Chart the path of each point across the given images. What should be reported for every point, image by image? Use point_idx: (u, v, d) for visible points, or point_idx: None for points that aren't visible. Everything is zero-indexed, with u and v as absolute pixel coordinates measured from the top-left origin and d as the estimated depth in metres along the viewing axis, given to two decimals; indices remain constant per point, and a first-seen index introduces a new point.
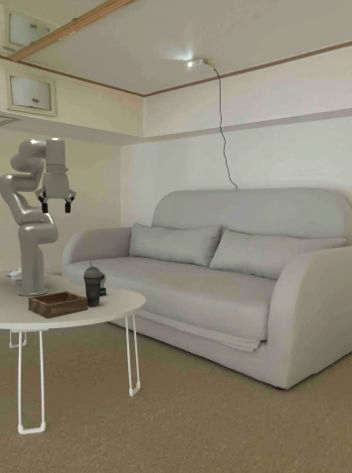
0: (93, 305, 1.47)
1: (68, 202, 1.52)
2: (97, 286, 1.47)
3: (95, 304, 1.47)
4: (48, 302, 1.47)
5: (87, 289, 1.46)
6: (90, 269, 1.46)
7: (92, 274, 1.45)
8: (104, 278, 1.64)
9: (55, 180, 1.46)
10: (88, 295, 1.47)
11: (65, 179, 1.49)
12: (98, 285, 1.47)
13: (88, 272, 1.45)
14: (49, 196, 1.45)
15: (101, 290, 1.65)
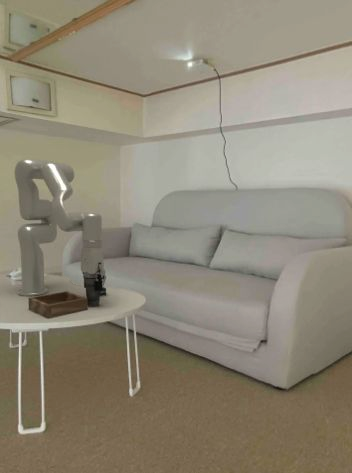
0: (93, 305, 1.47)
1: None
2: None
3: (95, 304, 1.47)
4: (48, 302, 1.47)
5: (87, 289, 1.46)
6: None
7: (92, 274, 1.45)
8: (104, 278, 1.64)
9: None
10: (88, 295, 1.47)
11: None
12: None
13: None
14: None
15: (101, 290, 1.65)
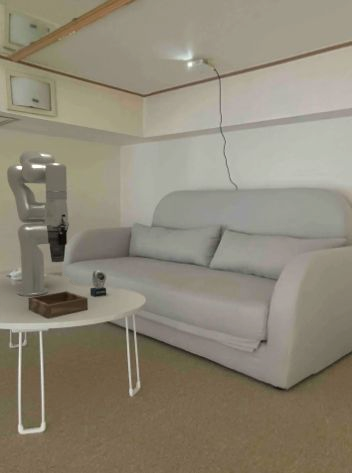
0: (57, 260, 1.39)
1: None
2: None
3: (59, 259, 1.40)
4: (48, 302, 1.47)
5: (51, 243, 1.39)
6: None
7: (56, 227, 1.37)
8: (104, 278, 1.64)
9: None
10: (52, 250, 1.39)
11: None
12: None
13: None
14: None
15: (101, 290, 1.65)
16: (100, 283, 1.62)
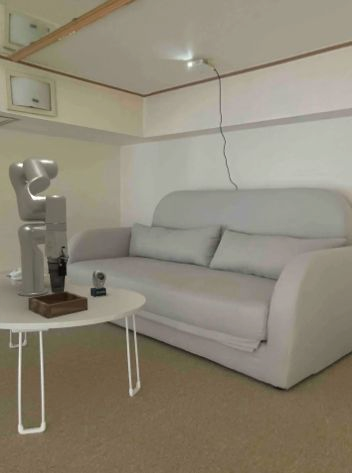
0: (57, 291, 1.40)
1: None
2: None
3: (59, 290, 1.40)
4: (48, 302, 1.47)
5: (51, 275, 1.39)
6: None
7: (56, 259, 1.38)
8: (104, 278, 1.64)
9: None
10: (52, 281, 1.40)
11: None
12: None
13: (51, 257, 1.38)
14: None
15: (101, 290, 1.65)
16: (100, 283, 1.62)
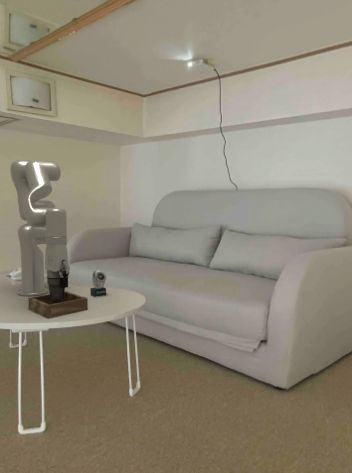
0: None
1: None
2: None
3: None
4: (48, 302, 1.47)
5: (50, 290, 1.40)
6: None
7: (55, 274, 1.39)
8: (104, 278, 1.64)
9: None
10: (51, 296, 1.41)
11: None
12: None
13: (51, 272, 1.39)
14: None
15: (101, 290, 1.65)
16: (100, 283, 1.62)
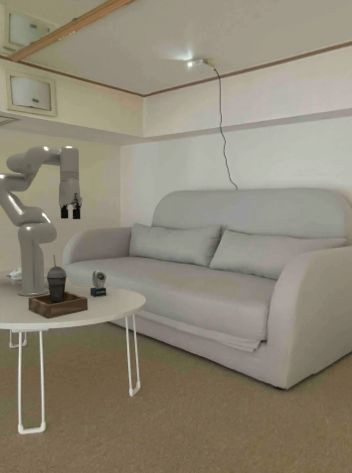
0: None
1: (66, 208, 1.58)
2: (61, 286, 1.41)
3: None
4: (48, 302, 1.47)
5: (50, 290, 1.40)
6: (53, 269, 1.40)
7: (55, 274, 1.39)
8: (104, 278, 1.64)
9: None
10: (51, 296, 1.41)
11: None
12: (62, 286, 1.41)
13: (51, 272, 1.39)
14: None
15: (101, 290, 1.65)
16: (100, 283, 1.62)
